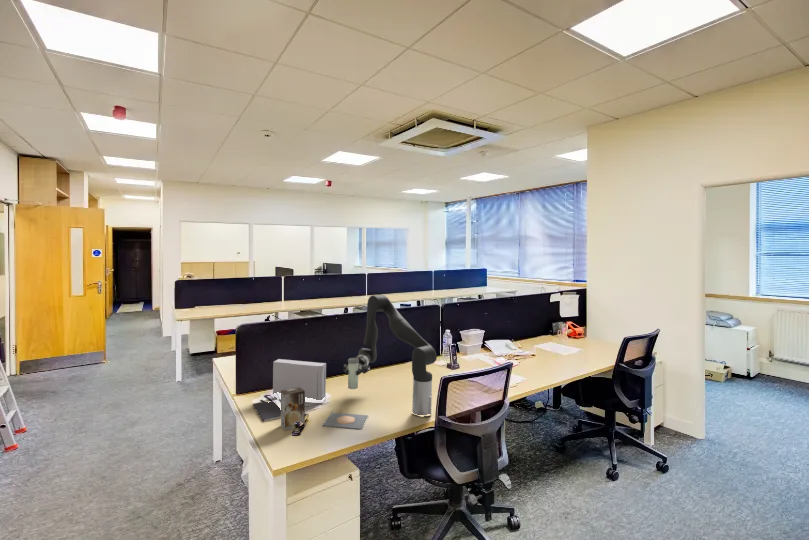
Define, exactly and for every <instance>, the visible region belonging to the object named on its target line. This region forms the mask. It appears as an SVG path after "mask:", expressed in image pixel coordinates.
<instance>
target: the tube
mask: <svg viewBox="0 0 809 540" xmlns="http://www.w3.org/2000/svg"><path fill="white" fill-rule="evenodd" d="M358 362H359V359H358V358H356V357H350V358H348V359H347V363H348V364H347V365H348V375H347V377H348V378H347V389H349V390H356V389H358V388H359V375H358V376H357V375H356V372H357V370H358Z"/></svg>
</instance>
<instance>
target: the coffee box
mask: <svg viewBox="0 0 809 540" xmlns="http://www.w3.org/2000/svg"><path fill="white" fill-rule="evenodd" d="M280 401H281V418H280V426H281V428H282V429H283V430H284V431H288V430H289V431H290V430H293V429H295V428H294V423H295V422H302V423H303V424H304V426H303V427H305V426H306V424H305V421H306V419H305V416H306V415H305V413H306V411H305V407H306V405H305V404H306V403H305V391H304V390H303V389H302V388H301V387H298V388H292V389H286V390H281V400H280Z"/></svg>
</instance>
